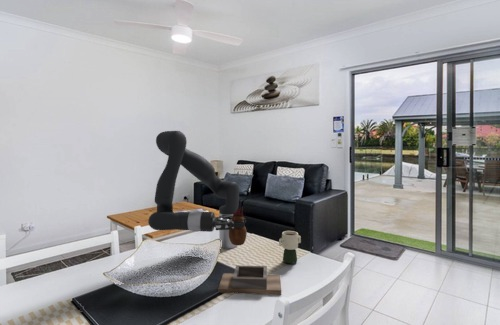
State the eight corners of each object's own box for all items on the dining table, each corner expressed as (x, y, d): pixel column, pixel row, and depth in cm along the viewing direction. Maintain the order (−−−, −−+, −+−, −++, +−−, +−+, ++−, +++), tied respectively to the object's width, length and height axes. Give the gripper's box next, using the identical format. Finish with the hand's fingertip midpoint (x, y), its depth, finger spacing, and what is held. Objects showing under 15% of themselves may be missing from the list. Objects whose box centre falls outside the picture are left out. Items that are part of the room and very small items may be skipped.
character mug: (296, 257, 132) (296, 229, 131) (304, 263, 125) (305, 233, 124) (275, 261, 127) (275, 232, 127) (283, 267, 121) (283, 237, 120)
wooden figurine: (248, 243, 112) (249, 205, 111) (242, 248, 107) (242, 208, 106) (233, 240, 115) (233, 203, 114) (226, 245, 110) (226, 206, 109)
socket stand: (223, 276, 112) (223, 264, 112) (279, 278, 111) (280, 265, 110) (218, 292, 100) (218, 278, 100) (281, 294, 99) (281, 280, 98)
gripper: (196, 216, 104) (243, 217, 103) (205, 207, 118) (246, 209, 117) (196, 236, 105) (242, 238, 103) (205, 225, 119) (246, 227, 117)
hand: (244, 222), depth 110 cm, fingers closed on wooden figurine, 4 cm apart
